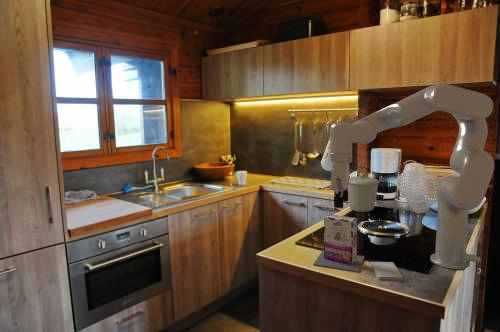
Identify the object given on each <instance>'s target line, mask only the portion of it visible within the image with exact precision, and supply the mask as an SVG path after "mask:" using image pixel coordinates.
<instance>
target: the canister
mask: <svg viewBox="0 0 500 332" xmlns="http://www.w3.org/2000/svg"><path fill="white" fill-rule="evenodd" d="M379 184H380V181H379V180H378V179H377V178H374V177H372V176H371V177H370V176H366V173H365V172H360V173H359V174H358V176H351V177H349V186H348V207H349V208H350V209H351V210H352V211H355V212H360V213H365V212H367V213H368V212H371V211H373V210H374V209H375V207H376V201H377V194H378V187H379V186H378V185H379Z"/></svg>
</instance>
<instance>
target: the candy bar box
mask: <svg viewBox="0 0 500 332" xmlns="http://www.w3.org/2000/svg"><path fill="white" fill-rule="evenodd" d="M323 234H324V235H323V245H324V246H323V248H324V249H323V250H324V259H328V260H332V261H337V262H341V263H345V264H350V265H352V264H353V263H355V262H356V261H357V255H358V254H357V253H358V251H357V250H358V218H357V217H351V216H343V215H339V214H327V215H325V216H324V217H323Z"/></svg>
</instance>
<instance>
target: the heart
mask: <svg viewBox="0 0 500 332" xmlns="http://www.w3.org/2000/svg"><path fill="white" fill-rule="evenodd" d="M441 180H442V179H441V178H439V177H438V176H436V175H433V174H423V173H421V172H419V171H417V170H406V171H403V172H402V173H400V174H399V175H398V177H397V179H396V187H397V189H398V192H399V193H400V194H401V197H403V198H404V199H405V201H406V202H407V203H408V205H409V207H410V208H411V210H412V211H413V212H414V213H416V214H418V215H421V214H423V213H424V212H426V211H427V210H428V209H429V208H431V207H432V206H433V205H434V204H437V186H438V183H439V182H440V181H441Z"/></svg>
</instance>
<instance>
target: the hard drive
mask: <svg viewBox="0 0 500 332" xmlns="http://www.w3.org/2000/svg"><path fill="white" fill-rule="evenodd" d="M370 266H371V269H372V270H373V272H374V274H375V276H376V279H377V280H379V281H403V282H404V281H405V278H404V276H403V274H402V273H401V272H400V270H399V268H398V267H397V266H396V265H395V263H394V262H393V261H388V262H387V261H370Z"/></svg>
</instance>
